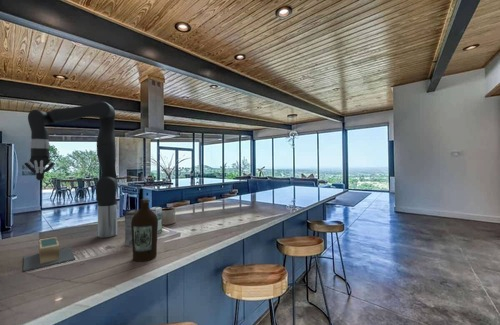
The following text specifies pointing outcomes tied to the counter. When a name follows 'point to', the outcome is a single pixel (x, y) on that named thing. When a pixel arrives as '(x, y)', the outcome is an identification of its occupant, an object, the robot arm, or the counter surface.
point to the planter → (168, 216)
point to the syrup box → (159, 215)
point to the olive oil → (144, 233)
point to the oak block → (48, 249)
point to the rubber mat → (34, 262)
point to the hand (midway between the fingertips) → (40, 180)
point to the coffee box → (129, 227)
